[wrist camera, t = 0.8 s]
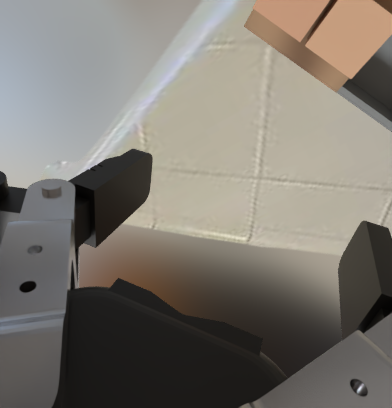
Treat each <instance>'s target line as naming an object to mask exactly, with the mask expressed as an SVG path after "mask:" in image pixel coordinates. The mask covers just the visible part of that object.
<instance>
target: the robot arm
mask: <svg viewBox="0 0 392 408" xmlns="http://www.w3.org/2000/svg"><path fill="white" fill-rule="evenodd" d="M151 172H152V155H151V154H149V153H146V152H143V151H140V150H136V149H131V150H129V151H128V152H126V153H124V154H123V155H121V156H117V157H113V158H109V159H106V160H104V161H102V162H100V163H99V164H97V165H95V166H93V167H92V168H90V170H89V169H88V170H86V171H85V172H83V173H81V174H80V175H78V176H76V177H74V178H73V179H71V180H69V181H66V180H62V179H45V180H41V181H38V182H35V183H34V184H32V185H30V186H29V187H28V189H24V188H17V187H9V186H8V184H7V179H6V175H5V174H4V173H3V172H1V171H0V408H392V238H391V235H390V231H389V229H388V228H387V227H383V226H380V225H377V224H374V223H371V222H367V221H362V222H361V223H360V225H359V226H358V228H357V230H356V232H355V233H354V235H353V237H352V239H351V241H350V242H349V244H348V246H347V248H346V250H345V251H344V253H343V255H342V257H341V260H340V263H339V268H338V274H339V275H338V276H339V293H340V310H341V329H342V341H341V342H340V343H338V344H337V345H335V346H334V347H332V348H331V349H330V350H328V351H327V352H326V353H324V354H323V355H321V356H320V357H318V358H317V359H315V360H314V361H313V362H311V363H310V364H308V365H307V366H305V367H304V368H303V369H302V370H300V371H298V372H297V373H295V374H294V375H293V376H291V377H290V378H287V377H286V376H285V374H284V373H283V372H282V371H281V370H280V369H279V368H278V366H277V365H276V364H275V363H274V362H272V361H271V360H270V359H269V358H268V357H267V356H265V355H264V354H263V353H261V352H260V350H261V345H262V340H263V339H262V338H260V337H258V336H255V335H253V334H250V333H248V332H246V331H244V330H241V329H239V328H236V327H234V326H232V325H229V324H227V323H225V322H219V321H214V320H209V319H203V318H198V317H192V316H186V315H183V314H181V313H179V312H178V311H177V310H175V309H174V308H173V307H171V306H170V305H168V304H167V303H165V302H164V301H163V300H162V299H160V298H159V297H158V296H156V295H155V294H153V293H152V292H151V291H148V290H146V289H143V288H141V287H139V286H136V285H134V284H131V283H129V282H127V281H124V280H122V279H119V278H118V279H117V280H116V281H115V283H114V284H113V285H112V286H111V287H110V288H108V287H84V288H79V255H80V253H79V246H81V244H83V243H85V244H88V245H90V246H92V247H95V248H96V247H97V246H98V245H99V244H101V242H103V241H104V240H105V239H106V238H107V237H108V236H109V235H110V234H111V233H112V232H113V231H114V230H115V229H116V228H118V227H119V226H120V225H121V224H122V223H123V222H124V221H125V220H126V219H127V218H128V217H129V216H130V215H131V214H133V213H134V212H135V211H136V210H137V209H138V208H139V207H140V206H141V205H142V204H143V203H144V202H145V201H146V199H147V197H148V195H149V191H150V183H151Z"/></svg>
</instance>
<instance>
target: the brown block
mask: <svg viewBox="0 0 392 408" xmlns="http://www.w3.org/2000/svg"><path fill="white" fill-rule="evenodd" d="M334 1H335V0H330V1H329V2H328V4H327V5H326V7H325V8H324V9H323V11H322V12H321V14H320V15H319V17H318V18H317V19H316V21H315V22H314V24H313V25H312V26H311V28H310V29H309V31H308V32H307V33H306V35H305V36H304V38H303V39H302V40H301V42H299V41H297V40H296V39H295V38H293V37H292V36H290V35H289V34H288V33H286V32H285V31H283V30H282V29H281V28H279V27H278V26H277V25H275V24H274V23H272V22H271V21H270V20H268V19H267V18H266V17H264V16H263V15H261V14H260V13H259V12H257V11H256V10H254V9H253V11H252V12H251V14H250V16H249V18H248V20H247V21H246V23H245V25H244V27H245V28H247V29H248V30H250V31H251V32H252V33H254V34H255V35H257V36H258V37H259V38H261V39H262V40H264V41H265V42H266V43H268V44H269V45H271V46H272V47H273V48H275V49H276V50H278V51H279V52H280V53H282V54H283V55H285V56H286V57H287V58H289V59H290V60H291V61H293V62H294V63H296V64H297V65H298V66H300V67H301V68H303V69H304V70H305V71H307V72H308V73H310V74H311V75H312V76H314V77H315V78H317V79H318V80H319V81H321V82H322V83H324V84H325V85H326V86H328V87H329V88H331V89H332V90H333V91H335V92H337V91H338V90H339V89H340V88H341V87H342V86H343V85H344V83H345V82H346V81H347V80H348V79H349V77H347V76H346V75H344V74H343V73H342V72H340V71H339V70H337V69H336V68H335V67H333V66H332V65H331V64H329V63H328V62H326V61H325V60H324V59H322V58H321V57H319V56H318V55H317V54H315V53H314V52H313V51H311V50H310V49H308V48H307V47H306V46H305V44H306V41H307V39H308V37H309V36H310V34H311V33H312V32H313V30H314V29H315V27H316V26H317V25H318V23H319V22H320V20H321V19H322V18H323V16H324V15H325V14H326V12H327V11H328V9H329V8H330V7H331V5H332V4H333V2H334ZM374 1H375V2H376V3H378V4H379V5H380V6H382V7H383V8H384V9H386V10H387V11H388V12H390V13H391V14H392V0H374Z"/></svg>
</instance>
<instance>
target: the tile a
mask: <svg viewBox="0 0 392 408" xmlns="http://www.w3.org/2000/svg"><path fill="white" fill-rule="evenodd" d="M329 1H330V0H257V1H256V3H255V5H254V6H253V9H254V10H256V11H257V12H259V13H260V14H261V15H263V16H264V17H266V18H267V19H268V20H270V21H271V22H272V23H274V24H275V25H277V26H278V27H279V28H281V29H282V30H283V31H285V32H286V33H288V34H289V35H290V36H292V37H293V38H295V39H296V40H297V41H299V42H301V40H302V39H303V38H304V36H305V35H306V33H307V32H308V31H309V29H310V28H311V26H312V25H313V24H314V22H315V21H316V19H317V18H318V17H319V15H320V14H321V12H322V11H323V9H324V8H325V7H326V5H327V4H328V2H329Z"/></svg>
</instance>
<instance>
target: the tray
mask: <svg viewBox="0 0 392 408" xmlns="http://www.w3.org/2000/svg"><path fill="white" fill-rule="evenodd" d="M337 93H338V94H340V95H341V96H342V97H344V98H345V99H347V100H348V101H349V102H351V103H352V104H353V105H355V106H356V107H358V108H359V109H360V110H362V111H363V112H365V113H366V114H367V115H369V116H370V117H372V118H373V119H374V120H376V121H377V122H379V123H380V124H381V125H383V126H384V127H386V128H387V129H388V130H390V131H391V132H392V35H391V36H390V37H389V38H388V39H387V40H386V41H385V42H384V44H383V45H382V46H381V47H380V48H379V49H378V50H377V51H376V52H375V53H374V55H373V56H372V57H371V58H370V59H369V60H368V61H367V62H366V63H365V65H364V66H363V67H362V68H361V69H360V70H359V71H358V72H357V73H356V74H355V76H354V77H353V78H352V79H350V78H349V79H348V80H347V81H346V82H345V83H344V85H343V86H342V87H341V88H340V89H339V90H338V91H337Z"/></svg>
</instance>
